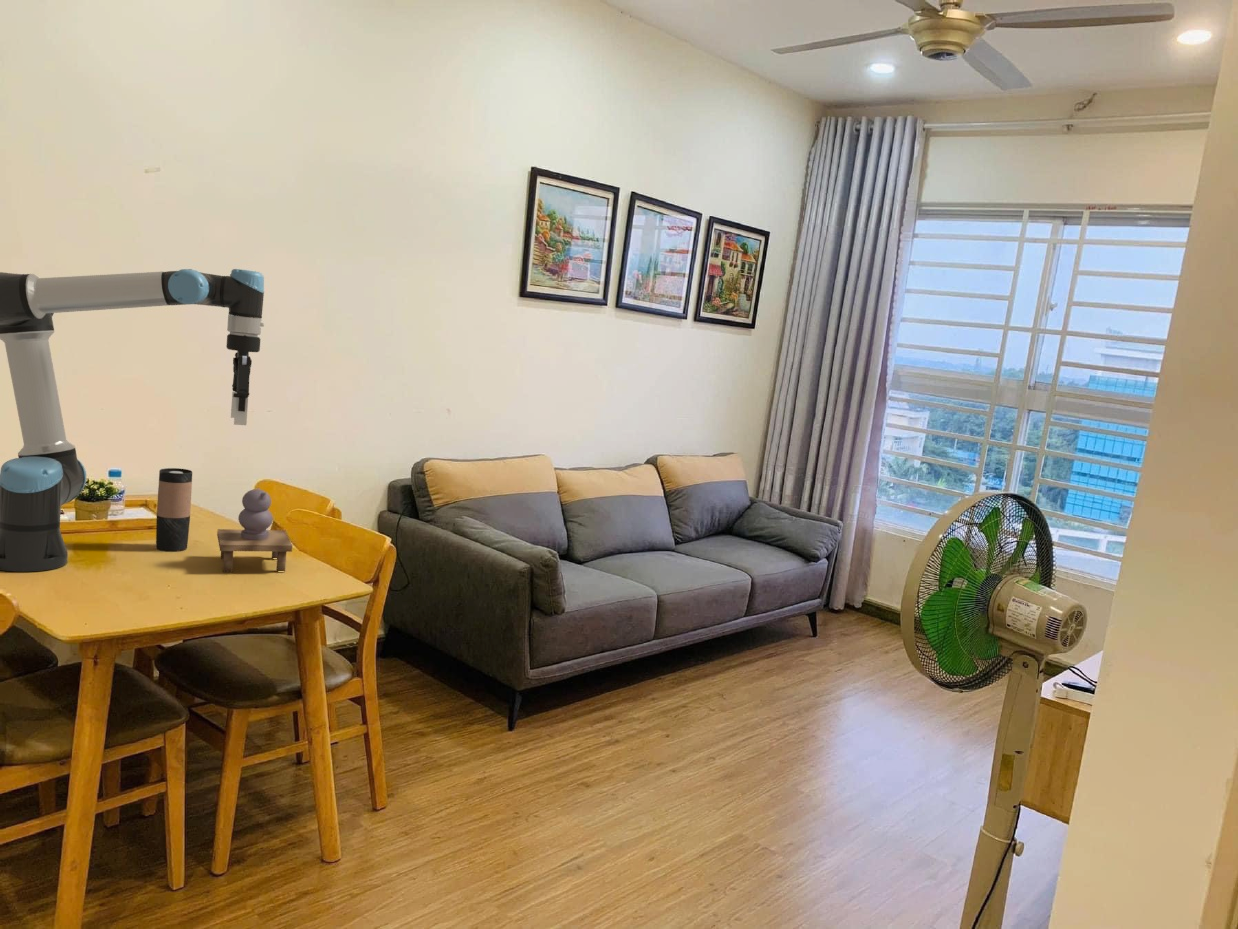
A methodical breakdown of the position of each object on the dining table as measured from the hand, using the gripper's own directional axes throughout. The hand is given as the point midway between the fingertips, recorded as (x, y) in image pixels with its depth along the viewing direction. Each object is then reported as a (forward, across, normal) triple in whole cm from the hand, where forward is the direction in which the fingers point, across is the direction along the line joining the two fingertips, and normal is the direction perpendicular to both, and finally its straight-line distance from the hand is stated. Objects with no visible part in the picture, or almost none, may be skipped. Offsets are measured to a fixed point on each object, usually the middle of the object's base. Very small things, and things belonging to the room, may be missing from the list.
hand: (238, 421), depth 224 cm
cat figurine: (+28, -6, -5) cm, 29 cm away
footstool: (+35, -6, -5) cm, 36 cm away
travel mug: (+35, +10, +13) cm, 39 cm away
